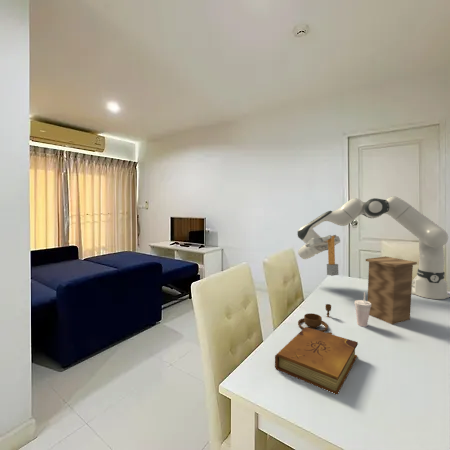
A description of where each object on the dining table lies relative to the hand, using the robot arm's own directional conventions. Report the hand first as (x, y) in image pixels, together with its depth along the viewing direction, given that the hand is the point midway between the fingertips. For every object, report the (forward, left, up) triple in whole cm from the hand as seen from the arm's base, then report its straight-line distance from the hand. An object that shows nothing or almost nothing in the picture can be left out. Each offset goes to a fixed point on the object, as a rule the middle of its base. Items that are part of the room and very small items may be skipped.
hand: (333, 236), depth 148 cm
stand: (+23, +23, -33) cm, 47 cm away
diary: (+72, -5, -34) cm, 79 cm away
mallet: (-1, -1, -12) cm, 12 cm away
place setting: (+43, -5, -34) cm, 55 cm away
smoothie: (+36, +11, -34) cm, 51 cm away
